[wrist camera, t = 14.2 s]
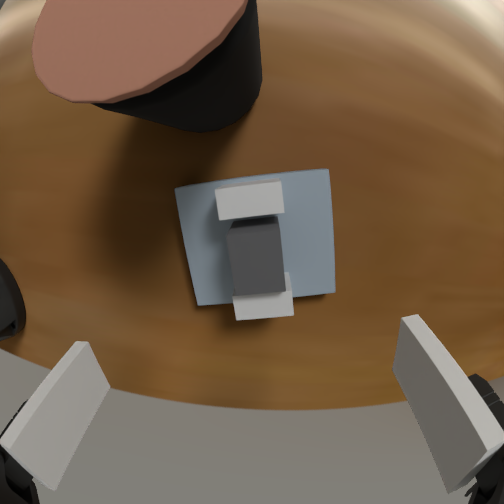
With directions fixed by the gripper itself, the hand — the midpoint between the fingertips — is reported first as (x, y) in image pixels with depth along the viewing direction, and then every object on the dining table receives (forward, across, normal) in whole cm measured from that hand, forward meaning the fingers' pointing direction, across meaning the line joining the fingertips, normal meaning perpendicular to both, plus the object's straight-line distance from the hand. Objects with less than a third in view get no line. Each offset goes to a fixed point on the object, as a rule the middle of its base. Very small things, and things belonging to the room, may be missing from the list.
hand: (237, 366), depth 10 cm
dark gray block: (+17, +1, 0) cm, 17 cm away
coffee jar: (+19, -2, +16) cm, 25 cm away
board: (+19, +1, 0) cm, 19 cm away
